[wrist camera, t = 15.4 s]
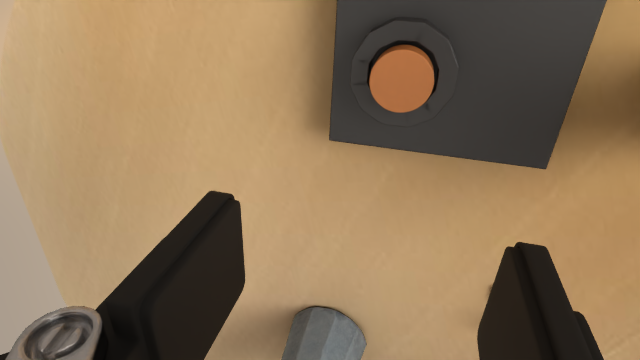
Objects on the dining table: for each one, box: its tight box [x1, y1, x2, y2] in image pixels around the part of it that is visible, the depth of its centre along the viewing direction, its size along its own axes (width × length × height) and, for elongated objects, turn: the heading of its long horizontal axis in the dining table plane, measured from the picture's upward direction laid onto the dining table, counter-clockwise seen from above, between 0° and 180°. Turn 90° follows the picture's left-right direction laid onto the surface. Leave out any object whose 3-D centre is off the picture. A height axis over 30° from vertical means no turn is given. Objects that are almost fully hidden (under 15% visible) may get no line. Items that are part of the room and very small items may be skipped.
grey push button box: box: [329, 0, 607, 169], centre depth 28 cm, size 16×12×4 cm
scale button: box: [369, 45, 434, 113], centre depth 26 cm, size 4×4×2 cm
